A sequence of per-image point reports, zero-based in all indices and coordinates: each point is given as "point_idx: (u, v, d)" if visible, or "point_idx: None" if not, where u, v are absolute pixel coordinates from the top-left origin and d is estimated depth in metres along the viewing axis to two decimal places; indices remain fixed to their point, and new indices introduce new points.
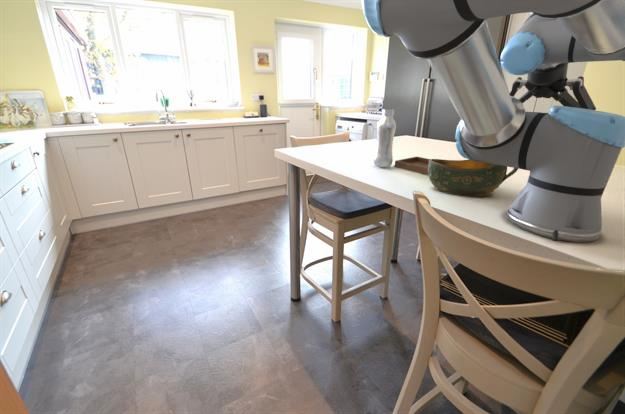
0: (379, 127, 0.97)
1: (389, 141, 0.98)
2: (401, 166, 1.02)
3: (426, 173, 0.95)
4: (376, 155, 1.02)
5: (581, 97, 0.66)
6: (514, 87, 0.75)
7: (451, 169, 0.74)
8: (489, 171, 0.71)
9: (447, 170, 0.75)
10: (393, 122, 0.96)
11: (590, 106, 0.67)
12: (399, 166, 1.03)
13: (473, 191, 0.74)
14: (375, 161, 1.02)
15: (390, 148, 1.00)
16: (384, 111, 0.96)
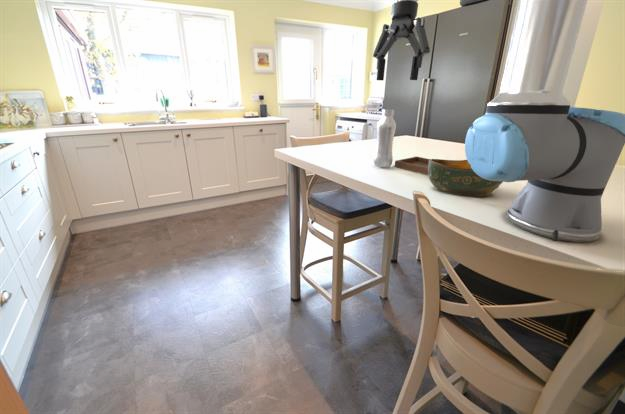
0: (379, 127, 0.97)
1: (389, 141, 0.98)
2: (401, 166, 1.02)
3: (426, 173, 0.95)
4: (376, 155, 1.02)
5: (420, 32, 0.82)
6: (383, 29, 0.91)
7: (451, 169, 0.74)
8: None
9: (447, 170, 0.75)
10: (393, 122, 0.96)
11: (425, 44, 0.82)
12: (399, 166, 1.03)
13: (473, 191, 0.74)
14: (375, 161, 1.02)
15: (390, 148, 1.00)
16: (384, 111, 0.96)
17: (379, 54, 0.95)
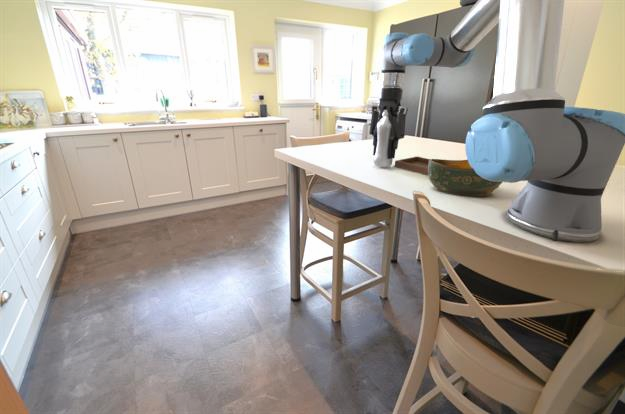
0: (379, 127, 0.97)
1: (389, 141, 0.98)
2: (401, 166, 1.02)
3: (426, 173, 0.95)
4: (376, 155, 1.02)
5: (400, 121, 0.93)
6: (372, 110, 1.01)
7: (451, 169, 0.74)
8: None
9: (447, 170, 0.75)
10: None
11: (402, 132, 0.94)
12: (399, 166, 1.03)
13: (473, 191, 0.74)
14: (375, 161, 1.02)
15: None
16: (384, 111, 0.96)
17: (375, 132, 1.02)
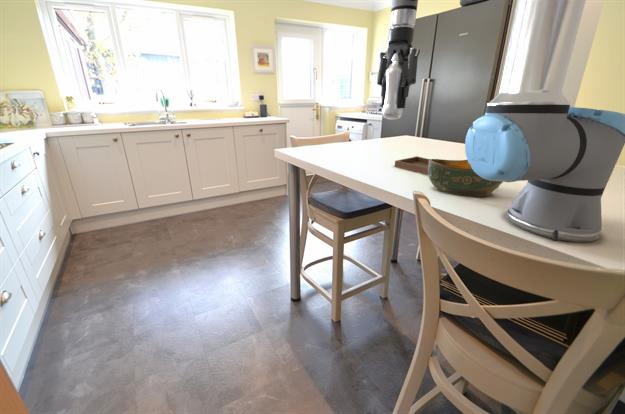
0: (388, 73, 0.91)
1: (399, 88, 0.92)
2: (401, 166, 1.02)
3: (426, 173, 0.95)
4: (385, 105, 0.95)
5: (412, 63, 0.86)
6: (381, 57, 0.94)
7: (451, 169, 0.74)
8: None
9: (447, 170, 0.75)
10: None
11: (413, 76, 0.87)
12: (399, 166, 1.03)
13: (473, 191, 0.74)
14: (384, 112, 0.95)
15: None
16: (394, 55, 0.89)
17: (383, 81, 0.95)
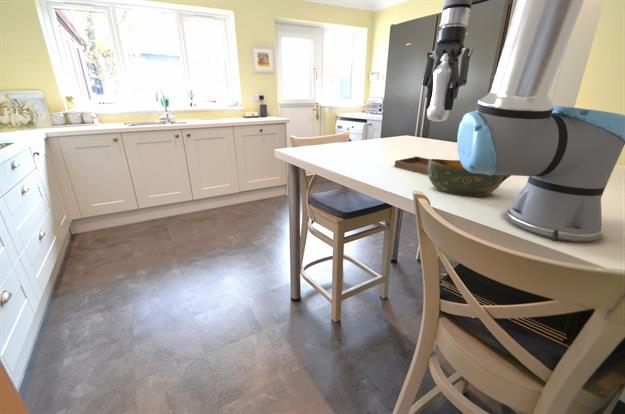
0: (437, 73, 0.88)
1: (448, 90, 0.89)
2: (401, 166, 1.02)
3: (426, 173, 0.95)
4: (431, 107, 0.92)
5: (464, 64, 0.83)
6: (428, 57, 0.91)
7: (451, 169, 0.74)
8: None
9: (447, 170, 0.75)
10: None
11: (464, 77, 0.85)
12: (399, 166, 1.03)
13: (473, 191, 0.74)
14: (430, 114, 0.93)
15: None
16: (443, 55, 0.87)
17: (429, 82, 0.93)
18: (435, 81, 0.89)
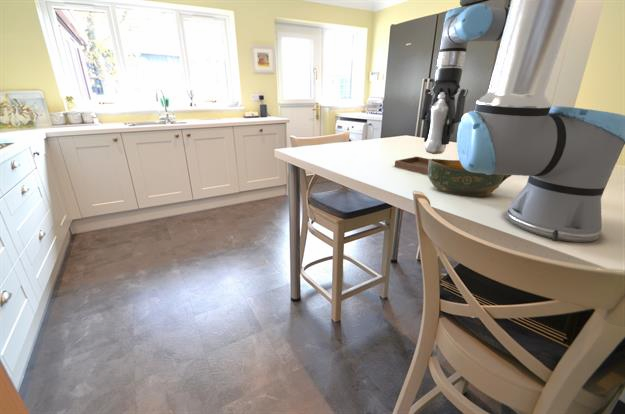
0: (435, 110, 0.92)
1: (444, 126, 0.93)
2: (401, 166, 1.02)
3: (426, 173, 0.95)
4: (429, 141, 0.96)
5: (460, 103, 0.87)
6: (426, 93, 0.95)
7: (451, 169, 0.74)
8: None
9: (447, 170, 0.75)
10: None
11: (460, 115, 0.89)
12: (399, 166, 1.03)
13: (473, 191, 0.74)
14: (427, 147, 0.97)
15: None
16: (440, 93, 0.91)
17: (427, 117, 0.96)
18: (432, 117, 0.93)
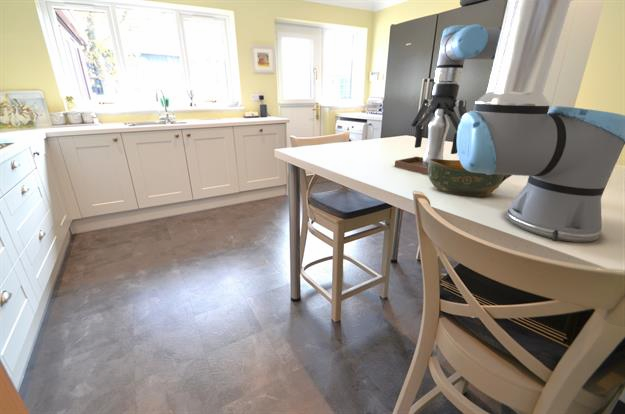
0: (432, 126, 0.94)
1: (442, 141, 0.95)
2: (401, 166, 1.02)
3: (426, 173, 0.95)
4: (426, 156, 0.98)
5: (462, 113, 0.87)
6: (423, 103, 0.97)
7: (451, 169, 0.74)
8: None
9: (447, 170, 0.75)
10: (447, 122, 0.93)
11: None
12: (399, 166, 1.03)
13: (473, 191, 0.74)
14: (425, 162, 0.99)
15: (442, 148, 0.96)
16: (438, 110, 0.93)
17: (418, 125, 1.00)
18: (430, 133, 0.95)
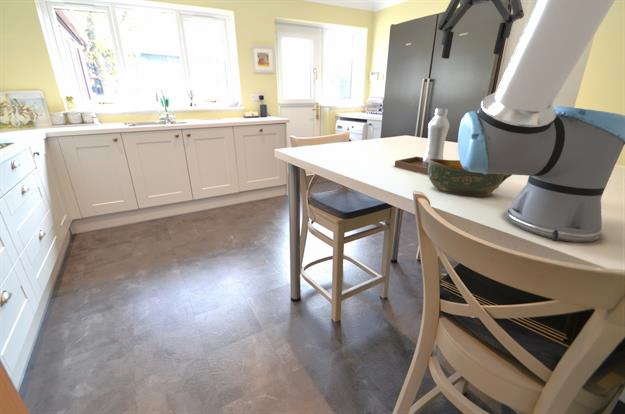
0: (432, 126, 0.94)
1: (441, 141, 0.95)
2: (401, 166, 1.02)
3: (426, 173, 0.95)
4: (426, 156, 0.98)
5: None
6: None
7: (451, 169, 0.74)
8: None
9: (447, 170, 0.75)
10: (447, 122, 0.93)
11: (519, 6, 0.65)
12: (399, 166, 1.03)
13: (473, 191, 0.74)
14: (425, 162, 0.99)
15: (442, 148, 0.96)
16: (438, 110, 0.93)
17: (447, 25, 0.77)
18: (430, 133, 0.95)
